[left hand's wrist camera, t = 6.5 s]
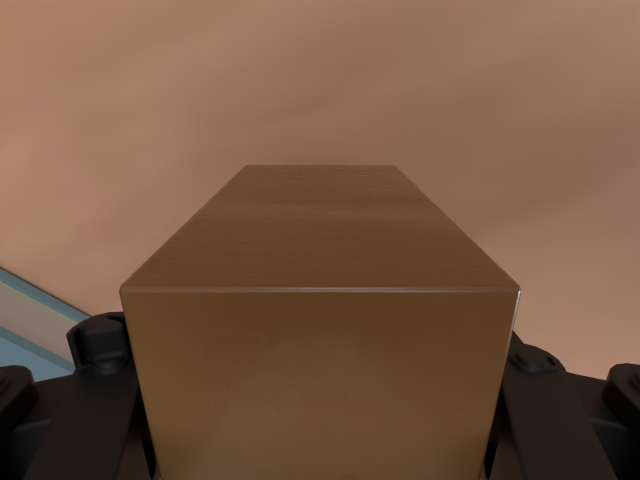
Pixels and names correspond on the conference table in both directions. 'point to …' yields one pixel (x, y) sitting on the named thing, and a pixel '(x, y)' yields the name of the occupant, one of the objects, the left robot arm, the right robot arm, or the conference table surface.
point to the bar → (320, 332)
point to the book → (35, 329)
